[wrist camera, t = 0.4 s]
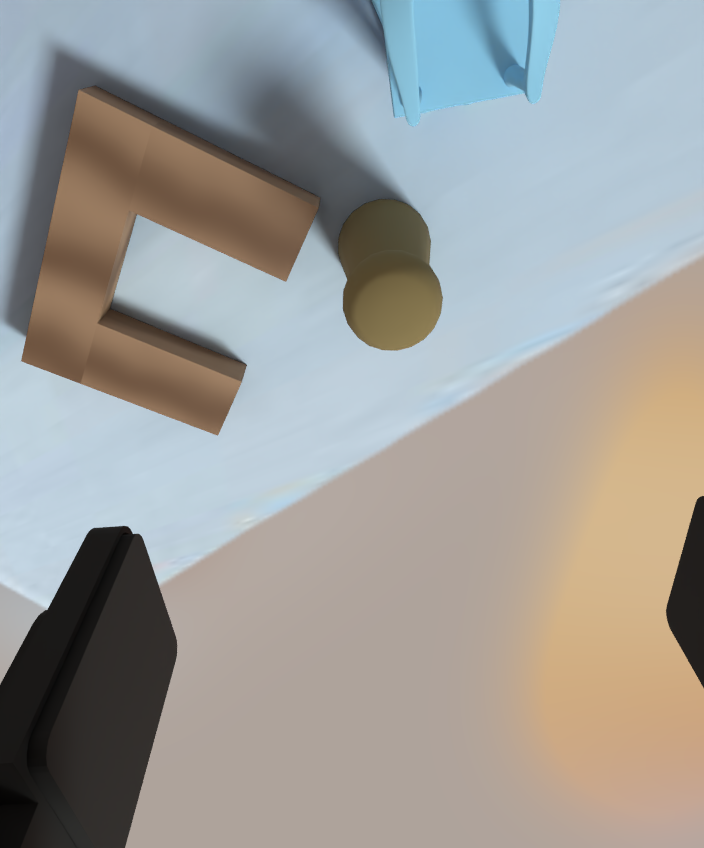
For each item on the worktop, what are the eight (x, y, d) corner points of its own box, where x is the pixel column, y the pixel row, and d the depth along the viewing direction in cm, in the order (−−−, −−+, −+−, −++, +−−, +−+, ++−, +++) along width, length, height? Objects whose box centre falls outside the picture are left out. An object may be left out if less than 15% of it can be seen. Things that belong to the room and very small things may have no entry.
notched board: (95, 85, 35) (78, 89, 33) (320, 197, 38) (318, 207, 36) (36, 344, 44) (21, 361, 41) (223, 417, 47) (218, 435, 45)
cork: (330, 282, 41) (324, 358, 32) (346, 190, 38) (345, 244, 29) (418, 298, 42) (437, 376, 32) (441, 208, 38) (469, 267, 29)
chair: (378, 121, 36) (389, 163, 26) (354, -56, 31) (356, -89, 21) (511, 96, 35) (576, 128, 25) (507, -90, 30) (583, -140, 21)
